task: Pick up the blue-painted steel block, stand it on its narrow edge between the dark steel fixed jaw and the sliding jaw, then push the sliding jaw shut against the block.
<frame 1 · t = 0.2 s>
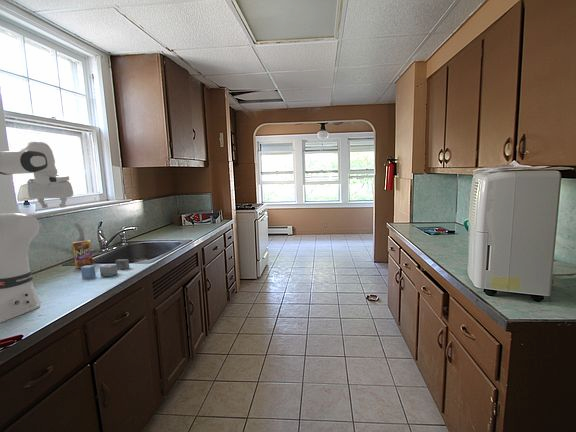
hand: (54, 207, 149), 39 cm above the counter, tool pointing down, fingers open, 8 cm apart
candy box: (84, 266, 188), on the counter
sliding jaw: (109, 270, 169), point 3 cm above the counter, slide at 0.0 cm
fixed jaw: (122, 268, 181), on the counter
steel block: (89, 277, 167), on the counter
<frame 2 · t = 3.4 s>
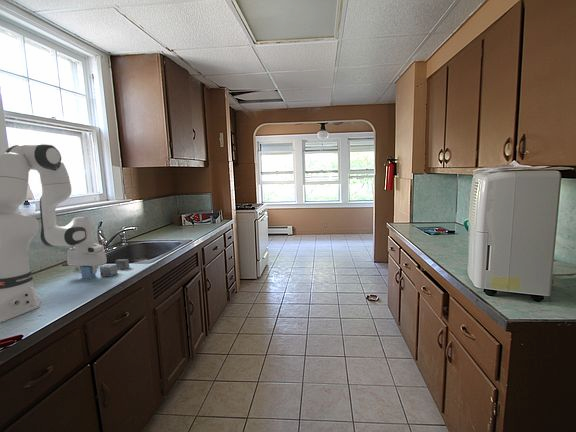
hand: (88, 273, 167), 2 cm above the counter, tool pointing down, fingers closed on steel block, 5 cm apart
steel block: (89, 277, 167), on the counter, touching gripper
everything else where it was.
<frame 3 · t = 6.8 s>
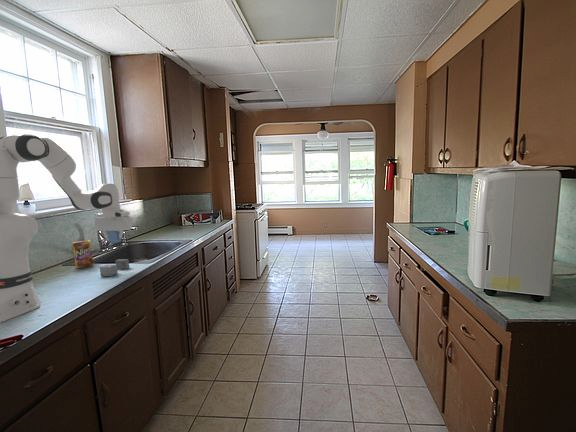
hand: (114, 238, 174), 18 cm above the counter, tool pointing down, fingers closed on steel block, 5 cm apart
steel block: (115, 242, 175), point 16 cm above the counter, touching gripper
everything else where it was.
when the fingers open (3 cm above the counter, at t = 9.9 s): steel block drops 1 cm, on the counter.
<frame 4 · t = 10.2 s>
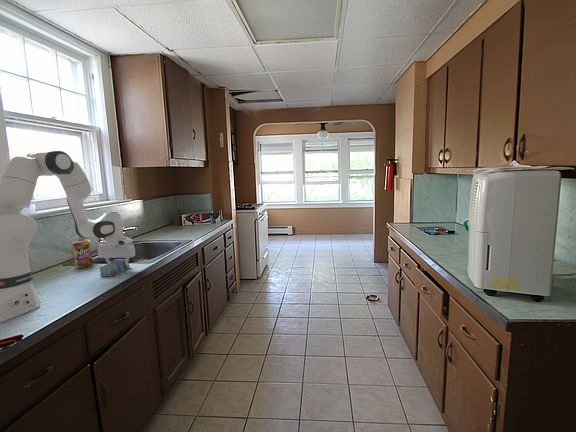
hand: (118, 265, 176), 3 cm above the counter, tool pointing down, fingers open, 8 cm apart
steel block: (118, 270, 177), on the counter
everything else where it was.
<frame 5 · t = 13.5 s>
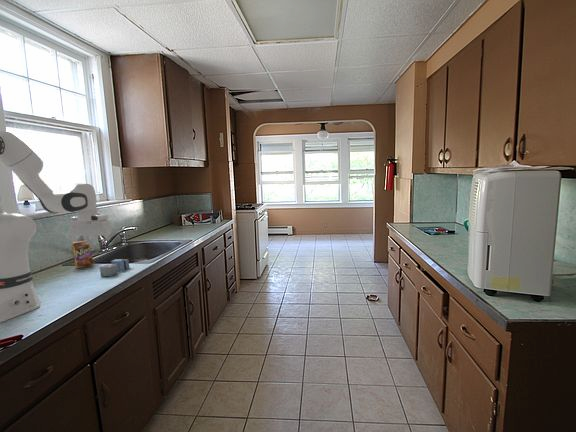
hand: (91, 244, 157), 19 cm above the counter, tool pointing down, fingers closed
nothing on the counter moved.
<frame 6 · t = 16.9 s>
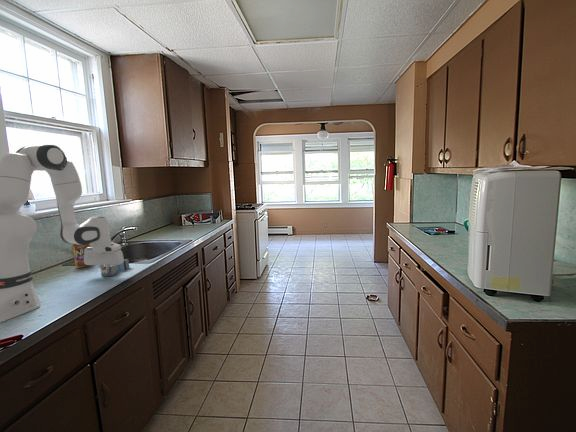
hand: (105, 272, 166), 2 cm above the counter, tool pointing down, fingers closed, pressing on sliding jaw
sliding jaw: (109, 269, 170), point 3 cm above the counter, slide at 0.6 cm, touching gripper
everything else where it was.
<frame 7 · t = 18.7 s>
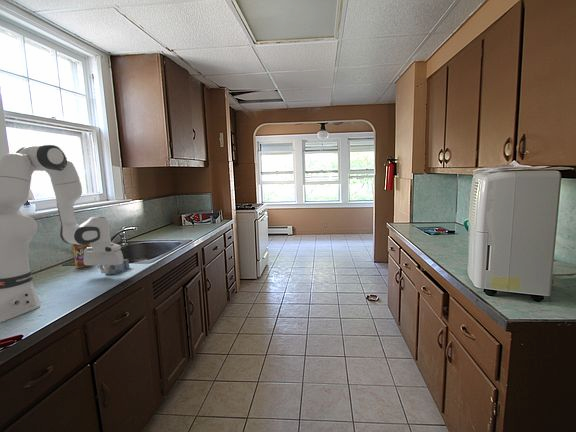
hand: (104, 273, 166), 2 cm above the counter, tool pointing down, fingers closed
sliding jaw: (113, 268, 172), point 3 cm above the counter, slide at 3.4 cm
everything else where it was.
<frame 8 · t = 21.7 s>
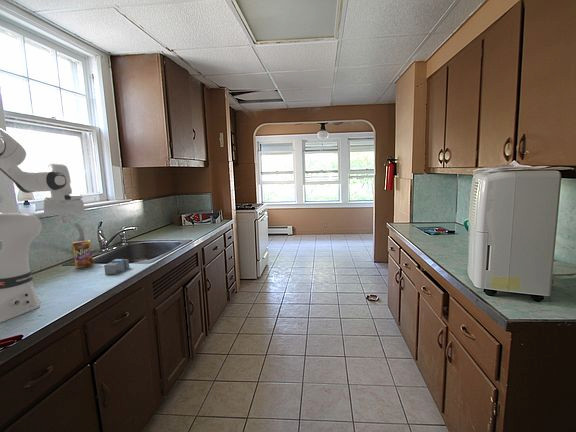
hand: (66, 223, 163), 29 cm above the counter, tool pointing down, fingers closed
nothing on the counter moved.
at the end: steel block 0.5 cm from the target spot, on the counter; steel block tilted 0°; sliding jaw slide at 3.4 cm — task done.
